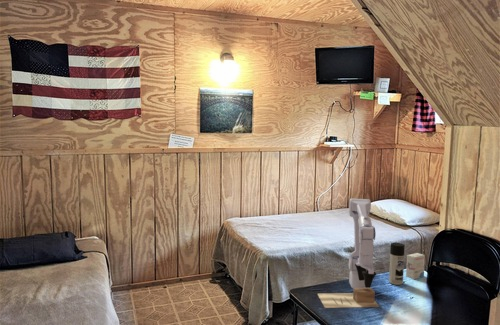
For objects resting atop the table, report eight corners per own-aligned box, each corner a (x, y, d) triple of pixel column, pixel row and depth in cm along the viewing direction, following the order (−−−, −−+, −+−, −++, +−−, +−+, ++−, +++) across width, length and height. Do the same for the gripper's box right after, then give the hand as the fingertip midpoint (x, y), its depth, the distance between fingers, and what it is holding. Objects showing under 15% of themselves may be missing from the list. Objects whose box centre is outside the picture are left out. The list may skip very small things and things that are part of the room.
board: (316, 296, 184) (317, 293, 184) (367, 296, 186) (368, 292, 186) (324, 310, 170) (324, 307, 170) (379, 310, 172) (379, 306, 172)
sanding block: (353, 298, 180) (353, 287, 179) (370, 298, 180) (371, 287, 180) (356, 303, 175) (357, 292, 175) (374, 302, 176) (374, 291, 175)
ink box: (416, 273, 216) (417, 252, 214) (424, 276, 211) (425, 254, 210) (405, 276, 211) (406, 254, 210) (413, 279, 207) (414, 257, 206)
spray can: (395, 286, 198) (397, 246, 196) (385, 281, 204) (387, 242, 202) (405, 284, 201) (408, 245, 199) (395, 279, 207) (397, 241, 205)
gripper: (351, 248, 182) (350, 277, 184) (362, 259, 168) (361, 290, 169) (366, 248, 183) (365, 277, 184) (379, 259, 168) (377, 290, 170)
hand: (364, 283), depth 177 cm, fingers open, 7 cm apart
